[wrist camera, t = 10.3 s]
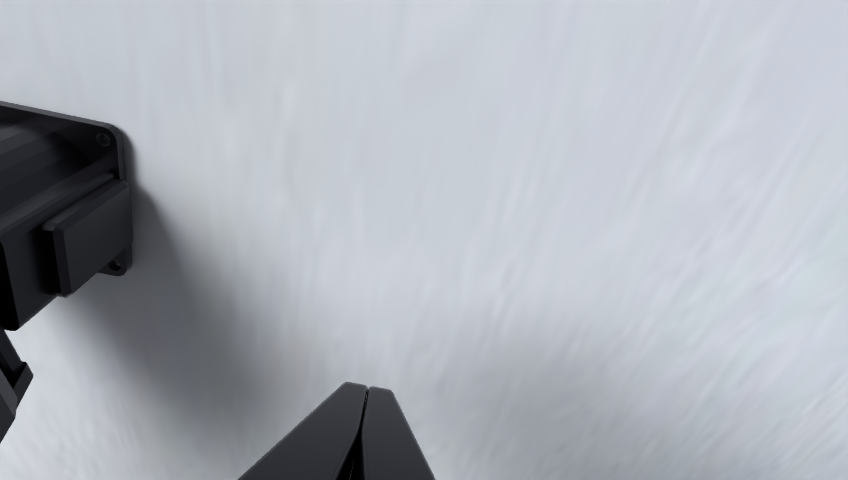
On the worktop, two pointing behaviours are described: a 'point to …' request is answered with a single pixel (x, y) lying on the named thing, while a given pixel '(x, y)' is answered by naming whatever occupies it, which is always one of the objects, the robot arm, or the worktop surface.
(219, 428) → the worktop surface
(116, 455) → the worktop surface
